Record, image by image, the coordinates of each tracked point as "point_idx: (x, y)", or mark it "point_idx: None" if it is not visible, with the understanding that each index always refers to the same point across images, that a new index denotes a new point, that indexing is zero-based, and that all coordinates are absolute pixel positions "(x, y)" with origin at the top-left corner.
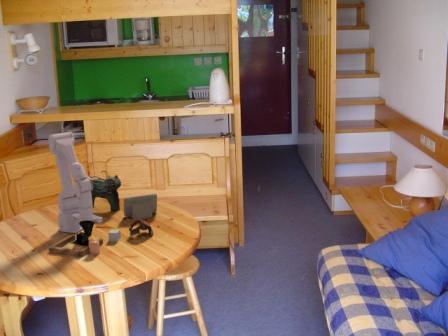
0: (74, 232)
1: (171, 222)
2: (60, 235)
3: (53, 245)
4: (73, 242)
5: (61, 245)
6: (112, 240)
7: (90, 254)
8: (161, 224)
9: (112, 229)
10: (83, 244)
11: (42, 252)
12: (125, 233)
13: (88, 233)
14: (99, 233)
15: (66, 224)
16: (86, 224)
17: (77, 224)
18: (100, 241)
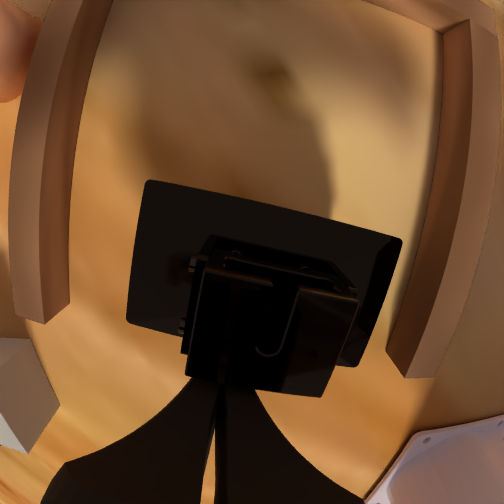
0: (420, 435)
1: (2, 498)
2: (500, 369)
3: (488, 45)
4: (370, 258)
5: (448, 129)
6: (4, 341)
7: (37, 18)
8: (11, 496)
9: (18, 449)
10: (214, 217)
11: (499, 25)
12: (45, 454)
13: (187, 388)
14: (212, 471)
15: (491, 462)
16: (90, 490)
17: (416, 499)
18: (18, 265)
